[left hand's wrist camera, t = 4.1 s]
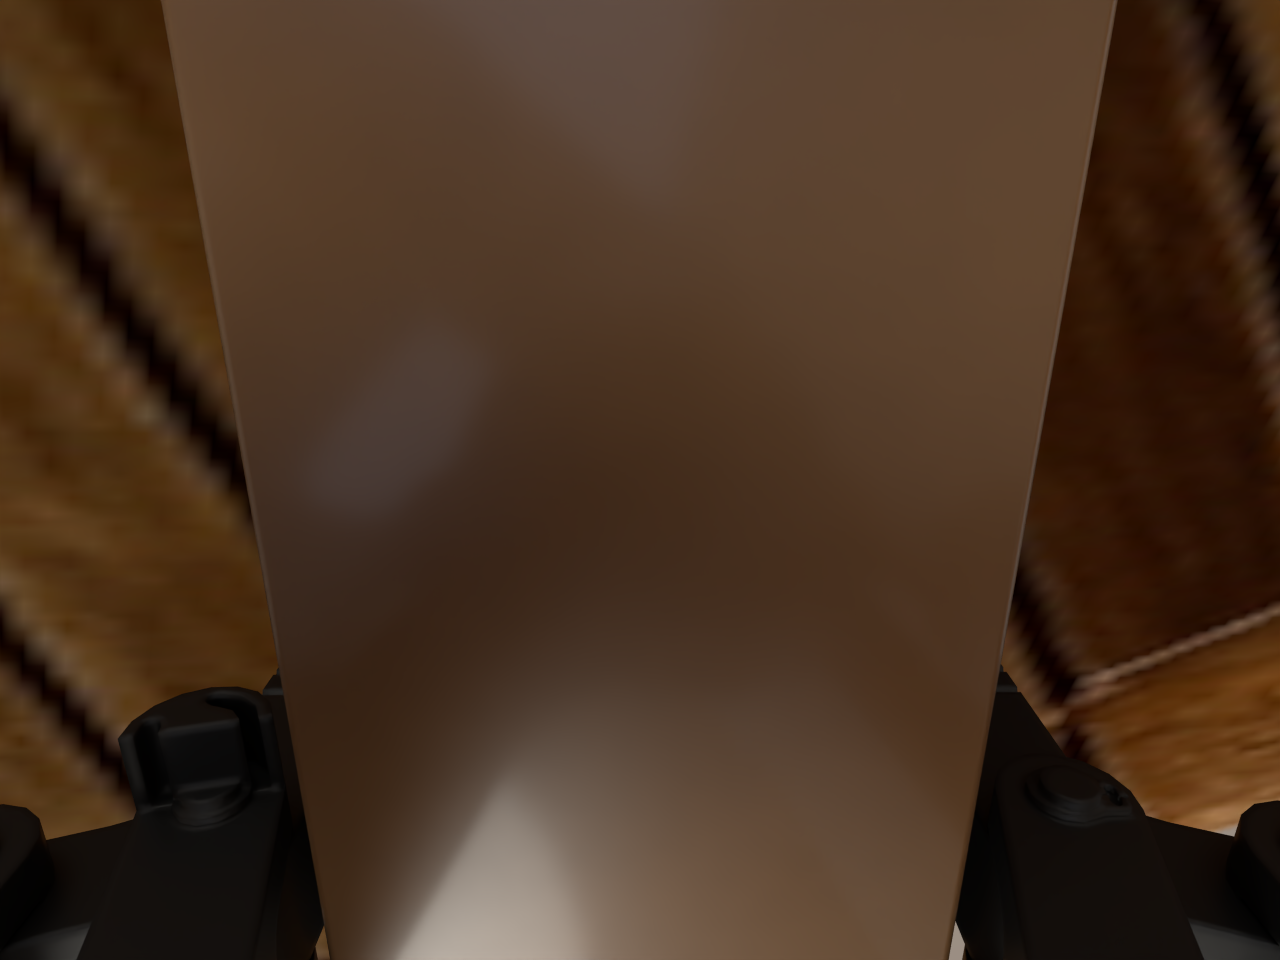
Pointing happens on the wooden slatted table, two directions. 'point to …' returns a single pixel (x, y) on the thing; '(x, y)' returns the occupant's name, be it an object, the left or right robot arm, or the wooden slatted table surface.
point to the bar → (639, 445)
